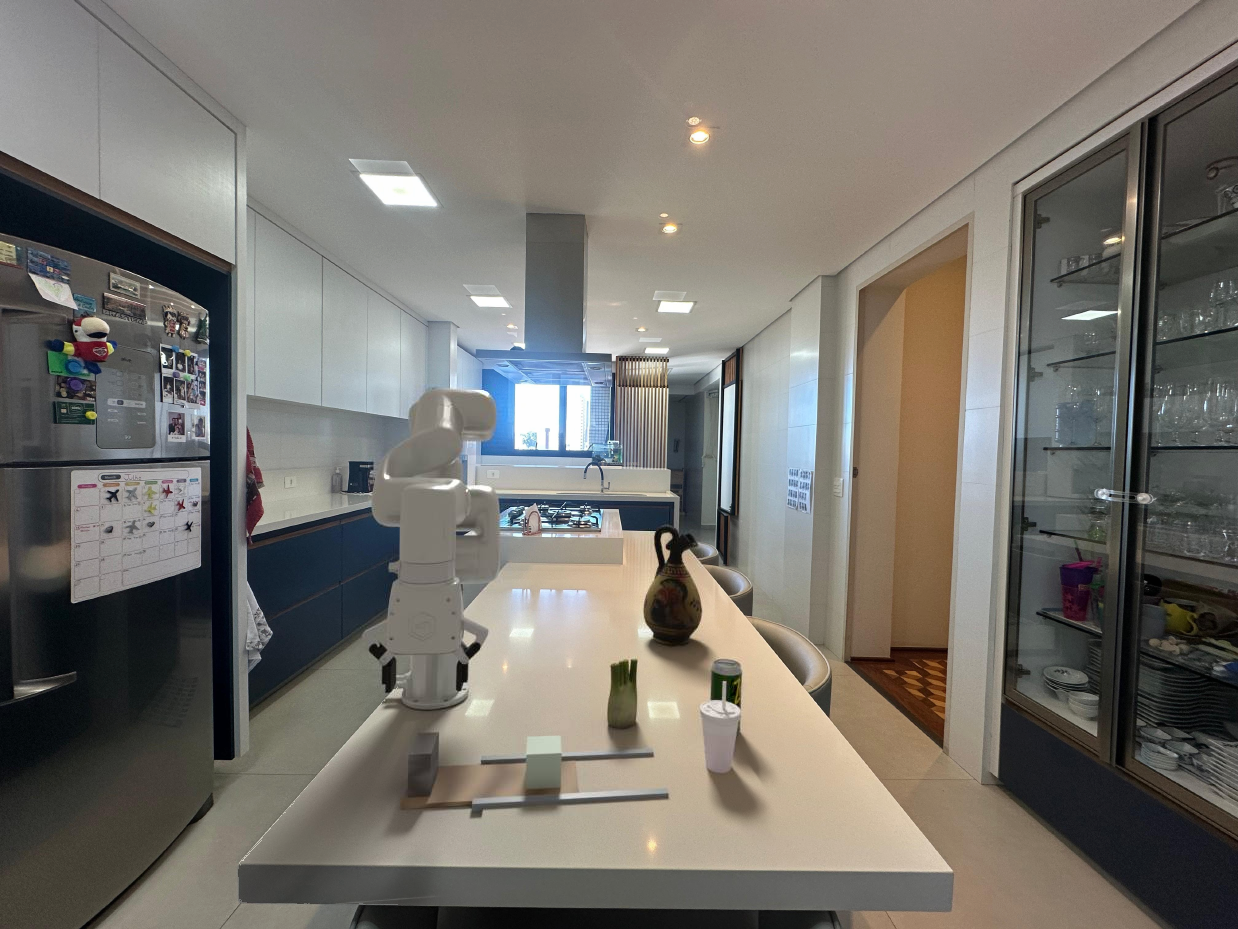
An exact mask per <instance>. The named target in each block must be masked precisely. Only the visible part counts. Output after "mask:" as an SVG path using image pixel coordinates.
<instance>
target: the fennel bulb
mask: <svg viewBox="0 0 1238 929" xmlns="http://www.w3.org/2000/svg"><path fill="white" fill-rule="evenodd" d="M629 664H630V665H629ZM637 673H638V658H631V659H630V662H629V659H627V658H625V659H622V660H619V661H618V662H612V663H610V690H609V694H608V695H609V696H608V702H607V712H606V713H607V714H606V715H607V716H606V717H607V718H606V720H607V723H608V725H609V726H610V727H611V728H615V729H622V730H623V729H629V728H632V727H633V726H634V725H635V723H636V720H637V715H638V713H637V711H638V688H637V687H638V686H637V676H638V674H637Z"/></svg>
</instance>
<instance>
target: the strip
mask: <svg viewBox="0 0 1238 929" xmlns="http://www.w3.org/2000/svg"><path fill="white" fill-rule="evenodd" d="M439 746H440V732H439V731H430V732H417V734H416V736H415V739H414V741H413V743H412V745H411V748H410V750H409V752H408V758H407V759H408V760H407V762H408V763H407V790H406V791H405V795H404V797H403V798H402V802H401V804H400V809H401V810H407V809H408V810H409V809H410V810H411V809H427V808H445V807H462V806H463V807H465V806H472V801H473V799H474V798H492V797H511V796H529V795H548V794H566V793H580V792H579V791H580V788H579V781H578V772H577V763H576V760H577V759H571V760H561V787H560V788H541V789H526V762H506V763H491V764H481V763H480V764H464V765H463V764H461V765H460V764H459V765H457V764H456V765H440V766H439V752H440V750H439V748H440V747H439Z"/></svg>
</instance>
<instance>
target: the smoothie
mask: <svg viewBox="0 0 1238 929" xmlns="http://www.w3.org/2000/svg"><path fill="white" fill-rule="evenodd" d="M698 712H699V714H698V715H699V716H700V717H701V724H702V735H703V736H702V738H703V746H704V758H705V759H704V760H705V767H706V769H708V770H709V771H710V772H713V773H717V774H725V773H726V774H727V773H728V772H730V771H731V769H732V763H733V759H734V758H733V757H734V750H735V747H736V746H735V744H736V739H737V738H736V737H737V735H738V734H737V728H738V721H740V722H741V720H742V709H741V710H740V708H739V707H738V706H736V705H735V704H732V703H730V702H727V701H726V681H723V688H722V701H721V700H711V701H710V700H707V701H704V702H702V703H701V704H700V705H699V711H698ZM740 719H741V720H740ZM736 734H737V735H736Z"/></svg>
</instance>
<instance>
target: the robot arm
mask: <svg viewBox="0 0 1238 929" xmlns="http://www.w3.org/2000/svg"><path fill="white" fill-rule="evenodd" d="M497 420H498V411H497V405H496V401H495V399H494V398H493V396H492V395H491V394H490V393H489V392H488V391H485V390H480V389H466V388H464V389H463V388H462V389H461V388H447V387H446V388H445V387H441V388H439V387H436V388H431V389H429V390H426V392H423V394H422V395H421V396H420V397H419V399H418V401H417V402H415V403H413V404H412V405H410V408H409V410H408V428H409V435H410V437H408V438H406V439H405V440H403V441H401V442H400V443H399V444H397V445H396V446H395V447H393V448H391V450H389V451H388V452H387V453H385V455H384V456H383V457H382V459H381V461H380V462H379V465H378V468H377V470H376V475H375V479H374V484H373V488H372V493H371V504H370V505H371V513H372V515H373V518H374V520H375V521H376V522H377V523H378V524H380V525H383V526H385V527H391V528H396V527H398V528H399V559H398V560H397V561H394V562H389V564H388V572H389V573H395V574H396V575H397V579H395V580H394V581H393V582H392V586H391V590H390V596H389V603H388V607H387V608H388V609H387V619H386V620H383V621H382V622H379V623H377V624H375V625H373V626H371V627H369V628H367V629H366V630H364V632H363V633H362V634H361V637H362V640H363V642H364V643H365V645H366V646H367V648H368V652H369V653H370V655H372V656H373V657H374V658H375V659H376V660H377V661H378V663H379V665H380V666H381V684H382V685H384V687H385V688H384V689H385V690H384V692H385V694H390V693H392V691H393V690H400V689H403V690H402V691H401V696H400V697H401V698H400V699H401V702H402V703H403V704H404V706H406V707H409V708H412V709H416V710H425V711H426V710H427V711H428V710H439V709H444V708H449V707H452V706H454V705H457V704H459V703H461V702H462V701H464V700H466V698H467V697H468V695H469V690H470V687H469V684H467V683H468V681H469V662H470V660H471V659H472V658H473V657H474V656H475V655H477V654H478V653H479V652H480V650H481V648H482V647H483V644H484V643H485V641H486V639H488V635H489V629H488V628H487V627H485V626H483V625H481V624H479V623H477V622H475V621H473V620H471V619H468V618H467V617H465V616H464V603H463V602H464V599H463V593H462V592H463V591H462V586H461V585H470V584H471V585H472V584H473V585H475V584H477V585H478V584H486V583H487V584H488V583H492V582H493V581H495V580H496V579H497V577H498V576H499V573H500V568H501V518H500V517H501V514H500V501H499V496H498V494H497V492H496V490H495V489H494V488H493V487H491V486H488V485H483V484H482V485H479V484H477V485H475V484H469V485H468V484H465V483H464V482H463V481H464V480H463V479H464V477H463V476H464V464H463V463H462V461H461V459H460V458H459V457H460V456H461V455H462V452H463V447H464V444H463V442H487V441H490V439H492V437H493V435H494V433H495V429H496V426H497V422H498V421H497ZM416 476H419V477H416ZM457 532H474V533H475V534H476V535H475V534H473V535H472V534H471V535H469V534H468V535H465V534H464V535H463V534H462V535H460V534H459V535H457ZM465 631H466V632H468V633H470V634H472V635H473V636H475V637H476V638H475V639H474V641H473V642H472V643H471V644H470V645H469V646H468V645H467V644H466V643H465V642H464V641H463V639H464V634H465V633H464V632H465ZM383 633H385V646H384V645H383V644H382V643H381V642H380V641H379V640H378V638H377V636H380V635H381V634H383ZM395 655H397V656H399V655H401V656H410V666H409V667H410V671H409V672H405V674H400V675H399V674H397V658H396V656H395ZM397 687H398V688H397ZM396 688H397V689H396Z"/></svg>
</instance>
